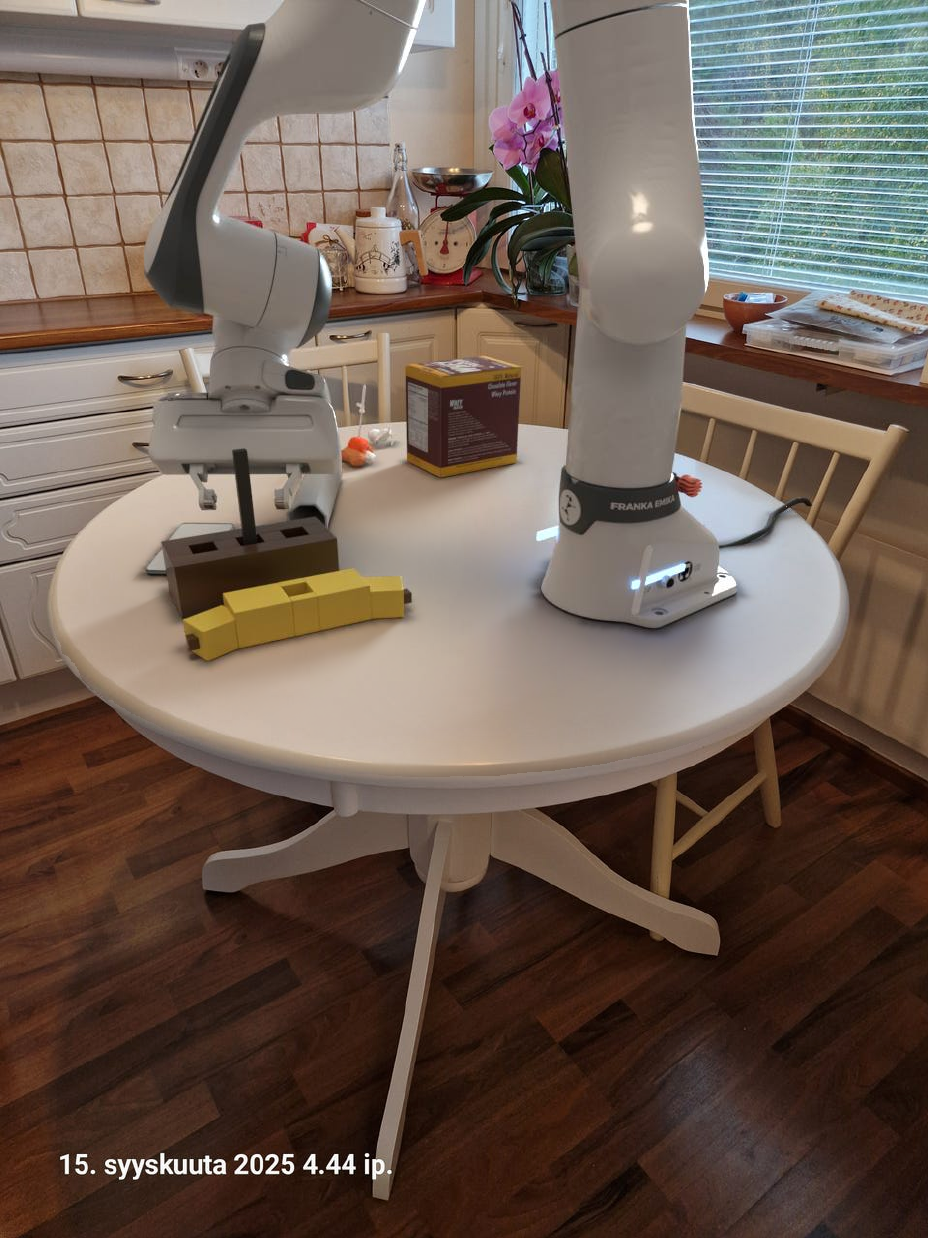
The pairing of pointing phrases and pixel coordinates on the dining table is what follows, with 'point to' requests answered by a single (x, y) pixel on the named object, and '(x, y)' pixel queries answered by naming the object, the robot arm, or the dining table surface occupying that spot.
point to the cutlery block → (245, 561)
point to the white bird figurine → (380, 435)
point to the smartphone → (184, 531)
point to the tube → (315, 497)
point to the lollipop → (359, 444)
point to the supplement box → (462, 414)
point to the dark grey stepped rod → (244, 496)
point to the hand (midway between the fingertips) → (245, 507)
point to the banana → (293, 610)
